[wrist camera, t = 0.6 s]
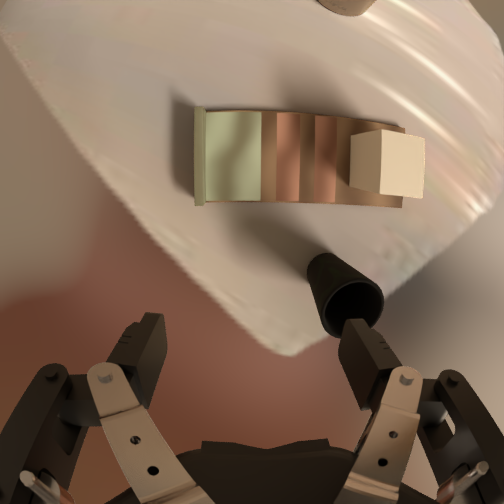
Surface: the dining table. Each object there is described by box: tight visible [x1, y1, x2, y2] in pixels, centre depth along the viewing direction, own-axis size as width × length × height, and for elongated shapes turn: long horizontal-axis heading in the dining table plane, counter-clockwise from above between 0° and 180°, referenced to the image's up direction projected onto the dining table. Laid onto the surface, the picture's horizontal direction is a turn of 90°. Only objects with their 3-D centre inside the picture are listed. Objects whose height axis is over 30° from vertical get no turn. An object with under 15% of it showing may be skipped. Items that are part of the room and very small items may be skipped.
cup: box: [307, 253, 384, 339], centre depth 34 cm, size 8×8×12 cm
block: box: [349, 129, 425, 198], centre depth 30 cm, size 6×7×9 cm
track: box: [194, 107, 405, 208], centre depth 33 cm, size 29×12×4 cm, turn 89°
